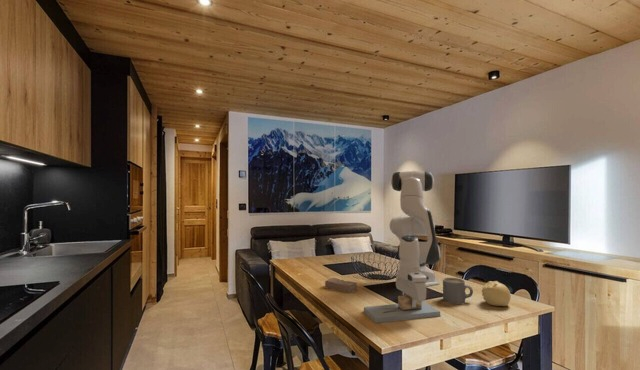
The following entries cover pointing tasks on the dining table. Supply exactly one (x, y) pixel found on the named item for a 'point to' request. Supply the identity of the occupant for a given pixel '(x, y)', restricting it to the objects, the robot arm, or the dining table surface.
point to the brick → (341, 285)
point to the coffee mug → (455, 290)
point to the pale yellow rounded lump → (496, 293)
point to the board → (399, 313)
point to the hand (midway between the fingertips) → (409, 304)
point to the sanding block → (408, 303)
